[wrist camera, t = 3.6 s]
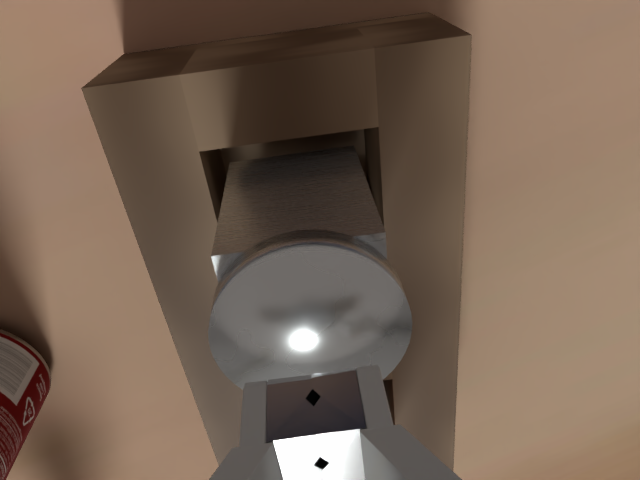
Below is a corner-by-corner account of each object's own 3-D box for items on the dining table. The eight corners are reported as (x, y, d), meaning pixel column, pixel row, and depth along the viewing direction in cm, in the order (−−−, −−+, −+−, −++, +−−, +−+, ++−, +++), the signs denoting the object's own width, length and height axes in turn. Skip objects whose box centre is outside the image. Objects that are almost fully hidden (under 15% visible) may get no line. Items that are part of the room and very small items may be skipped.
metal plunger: (364, 132, 17) (410, 236, 11) (373, 256, 20) (413, 392, 14) (215, 153, 17) (184, 268, 11) (244, 274, 20) (231, 417, 14)
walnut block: (429, 12, 20) (471, 34, 15) (429, 406, 32) (452, 479, 27) (123, 54, 20) (81, 88, 15) (240, 432, 32) (235, 510, 27)
